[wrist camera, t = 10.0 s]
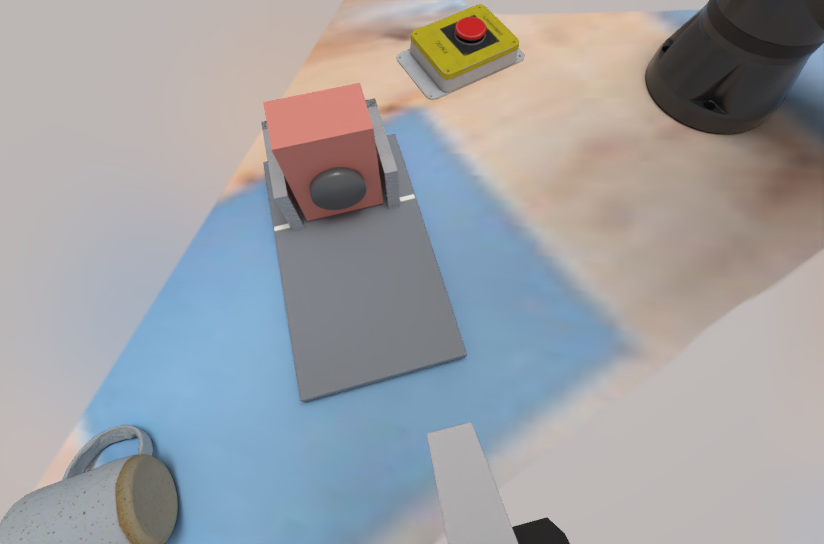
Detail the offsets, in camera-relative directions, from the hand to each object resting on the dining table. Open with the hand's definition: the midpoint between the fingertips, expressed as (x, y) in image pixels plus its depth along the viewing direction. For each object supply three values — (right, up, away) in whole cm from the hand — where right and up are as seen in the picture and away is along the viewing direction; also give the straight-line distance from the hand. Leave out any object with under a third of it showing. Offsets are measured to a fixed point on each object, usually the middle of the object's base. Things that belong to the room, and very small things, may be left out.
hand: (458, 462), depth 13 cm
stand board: (-7, +8, +27) cm, 29 cm away
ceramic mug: (-25, -12, +19) cm, 34 cm away
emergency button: (+5, +34, +39) cm, 52 cm away
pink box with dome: (-9, +14, +28) cm, 33 cm away
